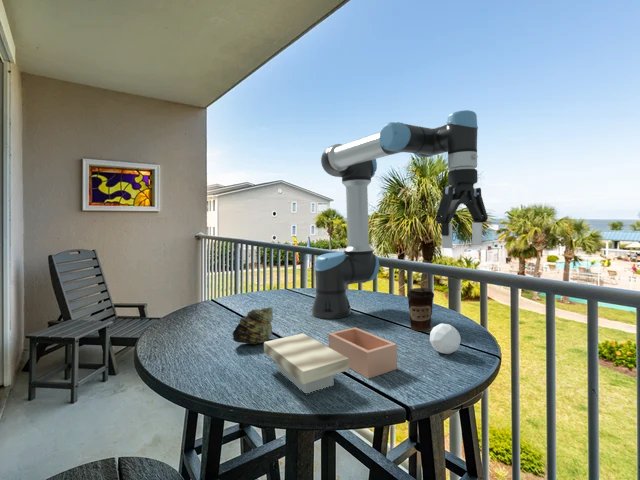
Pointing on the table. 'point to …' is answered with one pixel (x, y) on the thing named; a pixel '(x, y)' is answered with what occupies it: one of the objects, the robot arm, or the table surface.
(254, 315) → the seashell
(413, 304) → the coffee cup
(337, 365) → the board
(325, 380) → the rubber block
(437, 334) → the geometric ball
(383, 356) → the terracotta dish
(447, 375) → the table surface
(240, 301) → the table surface
